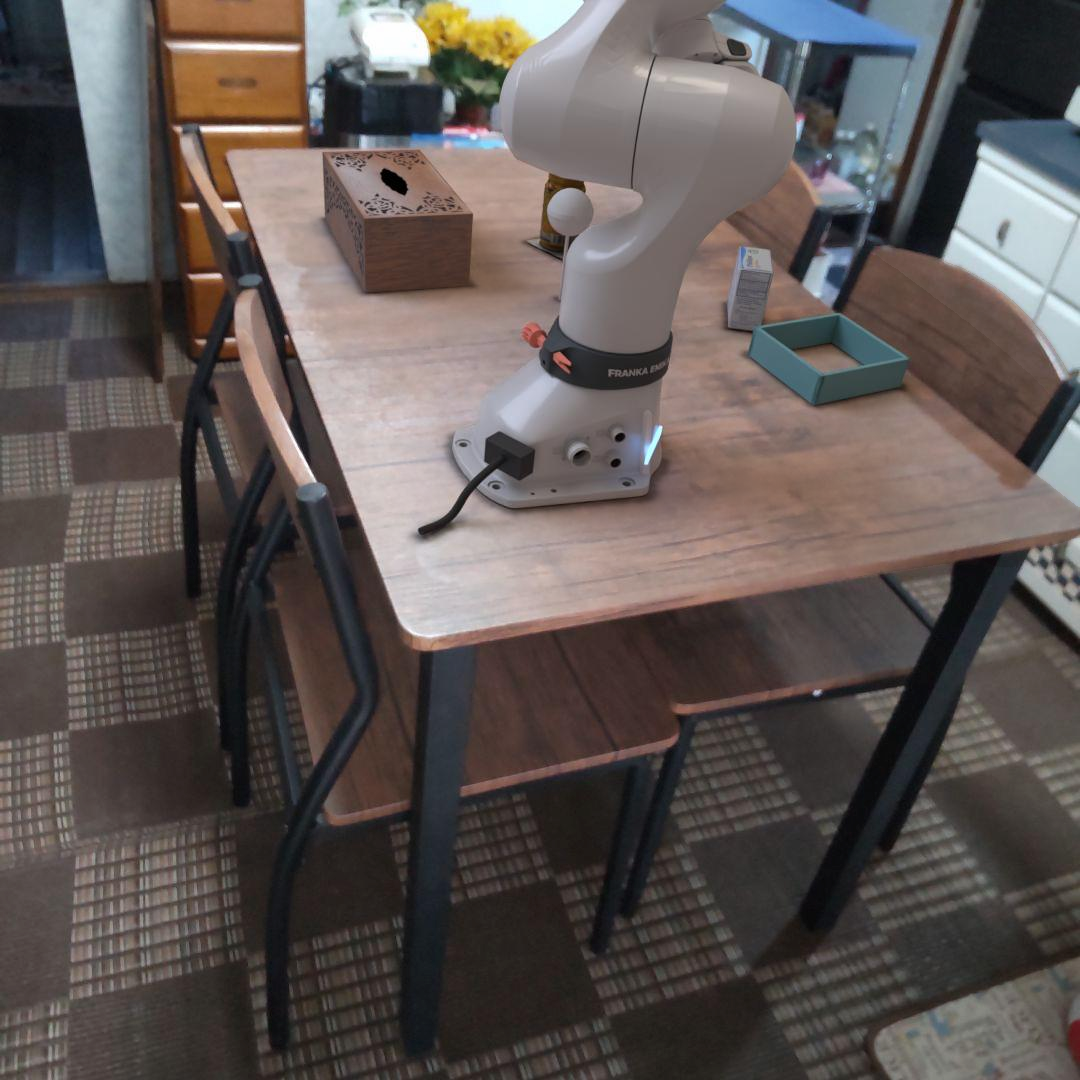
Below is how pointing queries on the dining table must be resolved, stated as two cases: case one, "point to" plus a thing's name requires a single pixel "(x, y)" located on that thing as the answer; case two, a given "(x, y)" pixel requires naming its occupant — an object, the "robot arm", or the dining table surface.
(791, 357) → the storage box
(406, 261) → the tissue box cover
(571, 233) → the lollipop
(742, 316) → the medicine box
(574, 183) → the condiment
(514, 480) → the robot arm
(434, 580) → the dining table surface
